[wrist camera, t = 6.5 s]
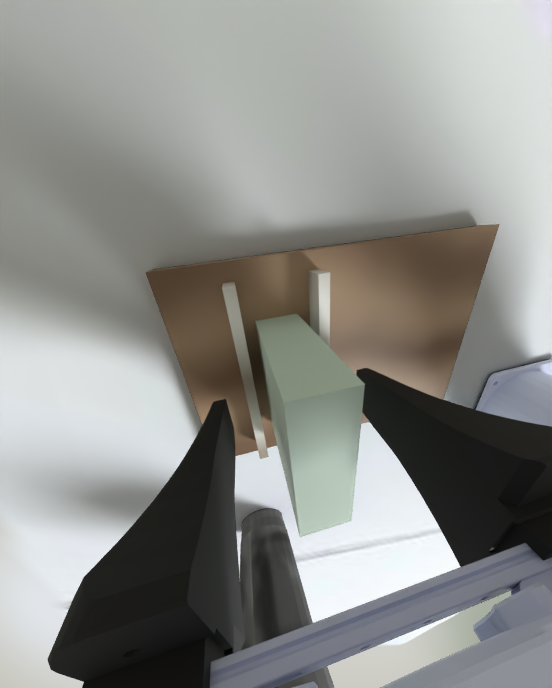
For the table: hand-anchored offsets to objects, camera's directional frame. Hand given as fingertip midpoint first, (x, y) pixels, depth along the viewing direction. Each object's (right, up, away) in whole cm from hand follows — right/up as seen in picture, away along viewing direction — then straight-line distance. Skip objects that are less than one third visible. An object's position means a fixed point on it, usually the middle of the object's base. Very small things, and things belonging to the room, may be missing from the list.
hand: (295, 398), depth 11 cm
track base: (+3, +3, +4) cm, 6 cm away
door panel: (-1, +1, +3) cm, 3 cm away
